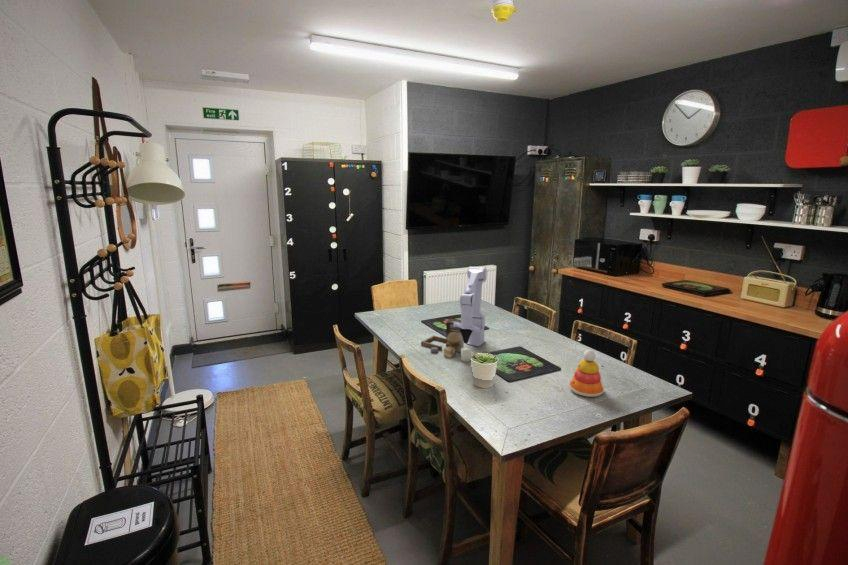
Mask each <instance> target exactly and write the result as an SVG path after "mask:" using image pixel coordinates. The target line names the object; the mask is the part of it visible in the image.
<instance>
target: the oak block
mask: <svg viewBox="0 0 848 565" xmlns="http://www.w3.org/2000/svg"><path fill="white" fill-rule="evenodd" d="M443 356H444V357H447V358H452V357H454V356H455V351H454V348H452V347H449V346H448V347H446V346H445V348H443Z"/></svg>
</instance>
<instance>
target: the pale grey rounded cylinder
mask: <svg viewBox="0 0 848 565" xmlns="http://www.w3.org/2000/svg"><path fill="white" fill-rule="evenodd" d="M471 356H472V349H471V348H470V347H469V346H465V347H463V348H461V352H460V361H461V362H463V363H468V362H471V360H470V359H472V358H471Z"/></svg>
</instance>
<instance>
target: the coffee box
mask: <svg viewBox="0 0 848 565" xmlns="http://www.w3.org/2000/svg"><path fill="white" fill-rule="evenodd" d="M455 322H456V323H461V319H454V318H448V320H447V321H446V326H445V327H446V331H445V332H446V333H445V338H446V343H445V348H446V347H448V346H449V347H452V348H454V352H459V353H461V348H463V347H464V344H465V343H464V340H463V337H462V334H461V332H460V330H461V328H459V327H453V323H455Z"/></svg>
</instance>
